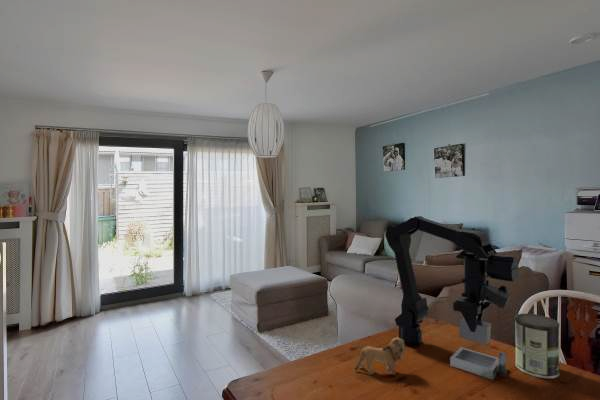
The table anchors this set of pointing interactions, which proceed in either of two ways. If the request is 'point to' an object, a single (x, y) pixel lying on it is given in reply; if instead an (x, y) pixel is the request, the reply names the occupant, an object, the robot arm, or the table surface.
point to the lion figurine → (383, 355)
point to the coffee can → (537, 345)
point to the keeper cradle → (479, 363)
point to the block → (476, 332)
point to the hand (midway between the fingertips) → (475, 329)
